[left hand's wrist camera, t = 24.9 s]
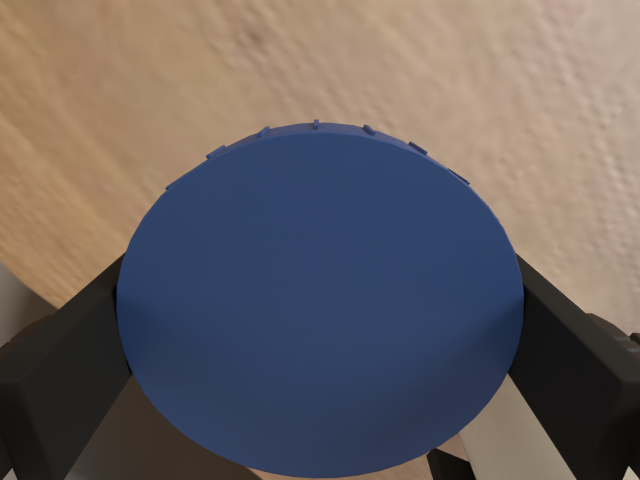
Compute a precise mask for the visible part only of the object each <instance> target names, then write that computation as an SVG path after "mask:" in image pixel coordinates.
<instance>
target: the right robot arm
mask: <svg viewBox="0 0 640 480" xmlns="http://www.w3.org/2000/svg"><path fill="white" fill-rule="evenodd" d="M629 337H630V340H631V341H635V342H636V343H637V344H638V345H639V346H640V333H632V334H631V335H630V336H629ZM426 456H427V459H428V463H429V466H430V470H431V474H432V477H433V480H476V477H475V475H474V472H473V470H472V467H471V464H470V462H468V461H465V460H463V459H460V458H458V457H456V456H453V455H451V454H448V453H446V452H444V451H441V450H439V449H436V448H434V449H432V450H431V451H430V452H429V453H428V454H427V455H426Z"/></svg>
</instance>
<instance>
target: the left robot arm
mask: <svg viewBox="0 0 640 480" xmlns="http://www.w3.org/2000/svg"><path fill="white" fill-rule="evenodd" d="M125 253H126V252H125ZM125 253H124V254H123V255H122V256H121V257H119V258H118V259H117V260H116V261H115V262H114V263H112V264H111V265H110V266H109V267H108V268H107V269H105V270H104V271H103V272H102V273H101V274H100V275H99V276H97V277H96V278H95V279H94V280H93V281H92V282H90V283H89V284H88V285H87V286H86V287H85V288H83V289H82V290H81V291H80V292H79V293H78V294H76V295H75V296H74V297H73V298H72V299H71V300H70V301H68V302H67V303H66V304H65V305H64V306H63V307H61V308H60V309H59V310H58V311H57V312H56V313H55V314H53V315H47V316H45V317H43V318H41V319H39V320H37V321H36V322H34V323H32V324H30V325H28V326H26V327H25V328H24V329H23V330H21V331H20V332H19V333H18V334H17V335H15V336H14V337H13V338H12V339H11V341H10V342H7V343H6V344H4V345H3V346H2V347H1V348H0V480H3V478H4V477H5V476H6V475H7V473H8V472H9V471H10V470H11V468H13V470H14V473H15V475H16V477H17V480H64V479H65V477H66V476H67V474H68V472H69V471H70V469H71V468H72V466H73V465H74V463H75V462H76V460H77V459H78V457H79V455H80V454H81V452H82V451H83V449H84V448H85V446H86V445H87V443H88V442H89V440H90V438H91V437H92V435H93V434H94V432H95V431H96V429H97V428H98V426H99V425H100V423H101V421H102V420H103V418H104V417H105V415H106V414H107V412H108V411H109V409H110V408H111V406H112V405H113V403H114V401H115V400H116V398H117V397H118V395H119V394H120V392H121V391H122V389H123V388H124V386H125V384H126V383H127V381H128V380H129V378H130V377H131V375H132V374H133V373H132V371H131V369H130V366H129V364H128V362H127V359H126V357H125V355H124V351H123V347H122V343H121V339H120V334H119V330H118V324H117V315H116V298H117V284H118V279H119V274H120V269H121V265H122V261H123V259H124V256H125ZM515 255H516V258H517V262H518V265H519V269H520V272H521V276H522V284H523V293H524V320H523V327H522V331H521V336H520V340H519V345H518V348H517V352H516V354H515V357H514V360H513V363H512V366H511V368H510V369H509V371H508V375H509V376H510V378H511V379H512V381H513V383H514V384H515V386H516V387H517V389H518V390H519V392H520V393H521V395H522V396H523V398H524V399H525V401H526V403H527V404H528V406H529V407H530V409H531V410H532V412H533V413H534V415H535V416H536V418H537V420H538V421H539V423H540V424H541V426H542V427H543V429H544V430H545V432H546V433H547V435H548V437H549V438H550V440H551V441H552V443H553V444H554V446H555V447H556V449H557V450H558V452H559V454H560V455H561V457H562V458H563V460H564V461H565V463H566V464H567V466H568V467H569V469H570V470H571V472H572V474H573V475H574V477H575V478H576V480H623V478H624V476H625V473H626V471H627V469H628V466H629V467H630V468H631V470H632V471H633V472H634V473H635V475H636V476H637V477H638V478H639V480H640V346H639V345H638V344H637V343H636V342H635V341H631V340H630V337H628V336H627V335H626V334H625V333H624V332H622V331H621V330H620V329H619V328H617V327H616V326H615V325H614V324H612V323H610V322H608V321H606V320H604V319H602V318H600V317H598V316H596V315H594V314H592V313H585V312H583V311H582V310H581V309H580V308H579V307H578V306H577V305H575V304H574V303H573V302H572V301H571V300H570V299H568V298H567V297H566V296H565V295H564V294H563V293H561V292H560V291H559V290H558V289H557V288H556V287H555V286H553V285H552V284H551V283H550V282H549V281H548V280H546V279H545V278H544V277H543V276H542V275H541V274H539V273H538V272H537V271H536V270H535V269H534V268H533V267H531V266H530V265H529V264H528V263H527V262H526V261H524V260H523V259H522V258H521V257H520V256H519V255H517V254H516V253H515Z"/></svg>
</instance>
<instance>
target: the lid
mask: <svg viewBox="0 0 640 480" xmlns="http://www.w3.org/2000/svg"><path fill="white" fill-rule="evenodd" d="M426 154H427V151H425V150H423V149H422V148H420V147H419V146H417V145H416V144H414V143H412V142H409V144H407V143H405V142H403V141H401V140H399V139H396V138H394V137H391V136H388V135H386V134H383V133H381V132H378V131H374V130H373V129H371V128H370V127H369V126H368V125H364V127H363V128H362V127H358V126H354V125H345V124H335V123H319V120H314V123H302V124H295V125H289V126H283V127H277V128H273V129H270V128H269V126H268V127H265V128H264V129H263V130H261V131H260V132H259V133H257V134H254V135H251V136H248V137H246V138H244V139H242V140H240V141H238V142H236V143H234V144H232V145H229V146H227V147H225V145H223V146H221V147H219V148H218V149H216V150H215V151H213V152H211V153H210V154H208V155H207V156H206V157H207V159H208V160H206V161H205V162H203V163H202V164H200V165H199V166H197V167H196V168H194V169H193V170H191V171H190V172H188V173H186V174H185V175H183V176H182V177H180V178H179V179H177V180H176V181H174V182H173V183H171V184H170V185H168V186H167V187H166V188H165V189H166V190H167V191H166V192H165V193H163V194H162V195H161V196H160V197H159V199H158V200H157V201H156V202H155V204H154V205H153V206H152V207H151V209H150V210H149V211H148V212H147V214H146V215H145V216H144V217H143V219H142V221H141V223H140V224H139V226H138V228H137V230H136V231H135V233H134V235H133V236H132V238H131V240H130V243H129V245H128V248H127V251H126V253H125V256H124V259H123V261H122V265H121V269H120V274H119V279H118V284H117V298H116V315H117V324H118V330H119V334H120V339H121V343H122V347H123V351H124V355H125V357H126V359H127V362H128V364H129V366H130V369H131V371H132V373H133V375H134V377H135V379H136V380H137V382H138V384H139V385H140V387H141V389H142V390H143V392H144V393H145V395H146V396H147V397H148V398H149V400H150V401H151V402H152V403H153V405H154V406H155V407H156V409H157V410H158V411H159V412H160V413H161V414H162V415H163V416H164V417H165V418H166V419H167V420H168V421H169V422H170V423H171V424H172V425H173V426H175V427H176V428H177V429H178V430H180V431H181V432H182V433H184V434H185V435H186V436H187V437H189V438H190V439H191V440H193V441H195V442H196V443H198V444H200V445H201V446H203V447H204V448H206V449H208V450H209V451H211V452H213V453H215V454H217V455H219V456H222V457H224V458H226V459H228V460H230V461H233V462H235V463H238V464H241V465H244V466H246V467H249V468H253V469H257V470H260V471H264V472H268V473H273V474H279V475H285V476H291V477H303V478H339V477H348V476H357V475H362V474H367V473H372V472H376V471H381V470H384V469H387V468H390V467H394V466H397V465H400V464H403V463H405V462H407V461H410V460H412V459H415V458H417V457H419V456H421V455H423V454H425V453H427V452H429V451H431V450H432V449H434V448H436V447H438V446H440V445H441V444H443V443H444V442H446V441H447V440H449V439H450V438H451V437H453V436H454V435H456V434H457V433H459V432H460V431H461V430H462V429H463V428H464V427H465V426H467V425H468V424H469V423H470V422H471V421H472V420H473V419H475V417H476V416H477V415H478V414H479V413H480V412H481V411H482V410H483V409H484V408H485V406H486V405H487V404H488V403H489V402H490V400H491V399H492V398H493V396H494V395H495V393H496V392H497V390H498V389H499V388H500V386H501V385H502V383H503V381H504V379H505V377H506V375H507V373H508V371H509V369H510V368H511V366H512V363H513V360H514V357H515V354H516V352H517V348H518V345H519V340H520V336H521V331H522V327H523V320H524V293H523V284H522V276H521V272H520V269H519V265H518V262H517V258H516V255H515V251H514V249H513V247H512V245H511V243H510V241H509V239H508V237H507V234H506V232H505V230H504V228H503V227H502V225H501V224H500V222H499V220H498V219H497V218H496V217H495V215H494V214H493V212H492V211H491V209H490V208H489V206H488V205H487V204H486V203H485V202H484V201H483V200H482V199H481V198H480V197H479V196H478V195H477V194H476V193H475V191H474V190H473V189H472V188H471V187H470V186H469V184H470V183H469V182H468V181H467V180H465V179H464V178H462V177H461V176H459V175H458V174H456V173H455V172H453V171H452V170H450V169H447V168H445V167H444V166H442V165H441V164H439V163H438V162H436V161H435V160H433V159H432V158H430V157H429V156H427V155H426Z"/></svg>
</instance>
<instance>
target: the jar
mask: <svg viewBox="0 0 640 480" xmlns="http://www.w3.org/2000/svg"><path fill="white" fill-rule="evenodd" d="M458 434H459V436H460V439H461V441H462V444H463V446H464V449H465V452H466V454H467V457H468V459H469V462H470V464H471V467H472V470H473V472H474V475H475V477H476V480H576V478H575V477H574V475H573V474H572V472H571V470H570V469H569V467H568V466H567V464H566V463H565V461H564V460H563V458H562V457H561V455H560V454H559V452H558V450H557V449H556V447H555V446H554V444H553V443H552V441H551V440H550V438H549V437H548V435H547V433H546V432H545V430H544V429H543V427H542V426H541V424H540V423H539V421H538V420H537V418H536V416H535V415H534V413H533V412H532V410H531V409H530V407H529V406H528V404H527V403H526V401H525V399H524V398H523V396H522V395H521V393H520V392H519V390H518V389H517V387H516V386H515V384H514V383H513V381H512V379H511V378H510V376H509V375H508V373H507V375H506V377H505V379H504V381H503V383H502V385H501V386H500V388H499V389H498V390H497V392H496V393H495V395H494V396H493V398H492V399H491V400H490V402H489V403H488V404H487V405H486V406H485V408H484V409H483V410H482V411H481V412H480V413H479V414H478V415H477V416H476V417H475V419H473V420H472V421H471V422H470V423H469V424H468V425H467V426H465V427H464V428H463V429H462V430H461V431H460V432H459V433H458ZM623 480H639V478H638V477H637V476H636V475H635V473H634V472H633V471H632V470H631V468H630V467H629V466H628V469H627V471H626V473H625V476H624V478H623Z"/></svg>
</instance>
